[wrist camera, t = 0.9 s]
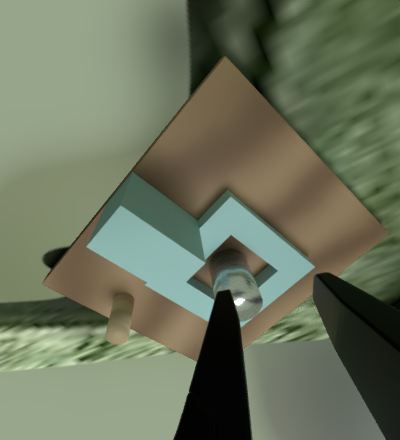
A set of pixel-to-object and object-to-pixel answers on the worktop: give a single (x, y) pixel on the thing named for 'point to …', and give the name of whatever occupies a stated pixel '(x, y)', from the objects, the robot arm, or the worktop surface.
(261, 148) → the board
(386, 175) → the worktop surface
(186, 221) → the flange
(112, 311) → the dowel
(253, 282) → the post
